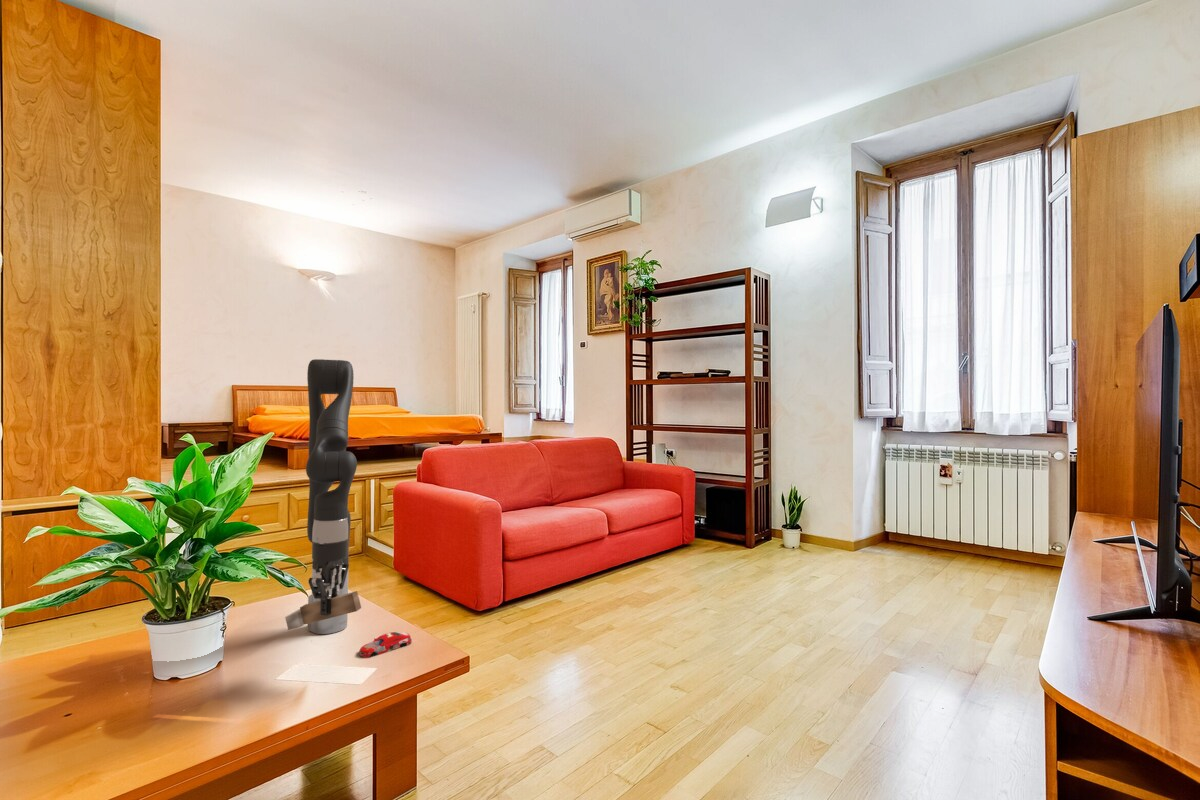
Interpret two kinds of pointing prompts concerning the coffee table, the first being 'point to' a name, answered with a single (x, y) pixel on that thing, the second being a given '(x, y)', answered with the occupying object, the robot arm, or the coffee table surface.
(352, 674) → the pad
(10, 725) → the coffee table surface
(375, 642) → the race car
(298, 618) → the brown and gray block
